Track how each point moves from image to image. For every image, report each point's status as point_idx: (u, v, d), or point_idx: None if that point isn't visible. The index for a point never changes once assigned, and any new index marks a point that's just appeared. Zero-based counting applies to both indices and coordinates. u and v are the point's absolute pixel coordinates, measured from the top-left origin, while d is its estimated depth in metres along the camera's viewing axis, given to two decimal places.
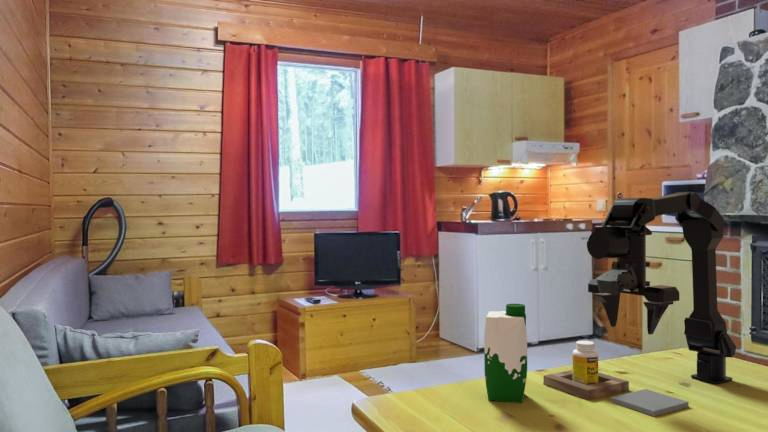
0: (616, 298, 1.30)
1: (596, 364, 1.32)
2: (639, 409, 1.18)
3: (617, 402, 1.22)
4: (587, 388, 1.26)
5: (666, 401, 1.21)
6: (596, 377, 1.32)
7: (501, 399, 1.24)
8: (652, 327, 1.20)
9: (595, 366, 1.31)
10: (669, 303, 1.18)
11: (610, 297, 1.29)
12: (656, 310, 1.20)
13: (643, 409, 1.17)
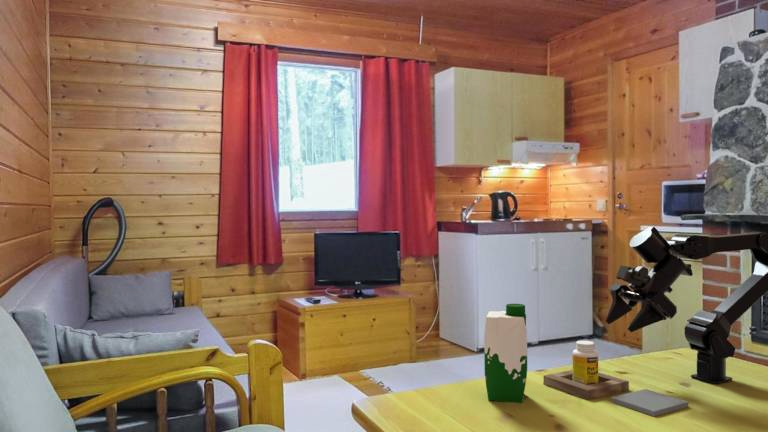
0: (626, 308, 1.41)
1: (596, 364, 1.32)
2: (639, 409, 1.18)
3: (617, 402, 1.22)
4: (587, 388, 1.26)
5: (666, 401, 1.21)
6: (596, 377, 1.32)
7: (501, 399, 1.24)
8: (634, 325, 1.30)
9: (595, 366, 1.31)
10: (661, 314, 1.28)
11: (622, 301, 1.41)
12: (647, 315, 1.30)
13: (643, 409, 1.17)
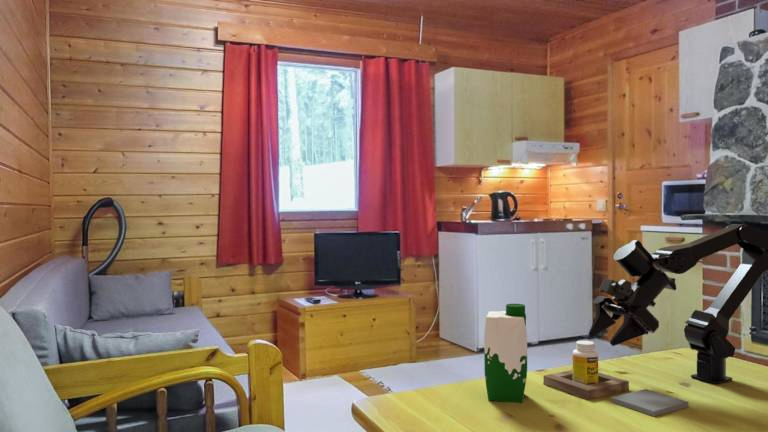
0: (610, 321, 1.40)
1: (596, 364, 1.32)
2: (639, 409, 1.18)
3: (617, 402, 1.22)
4: (587, 388, 1.26)
5: (666, 401, 1.21)
6: (596, 377, 1.32)
7: (501, 399, 1.24)
8: (616, 339, 1.29)
9: (595, 366, 1.31)
10: (643, 329, 1.27)
11: (605, 314, 1.40)
12: (630, 329, 1.29)
13: (643, 409, 1.17)
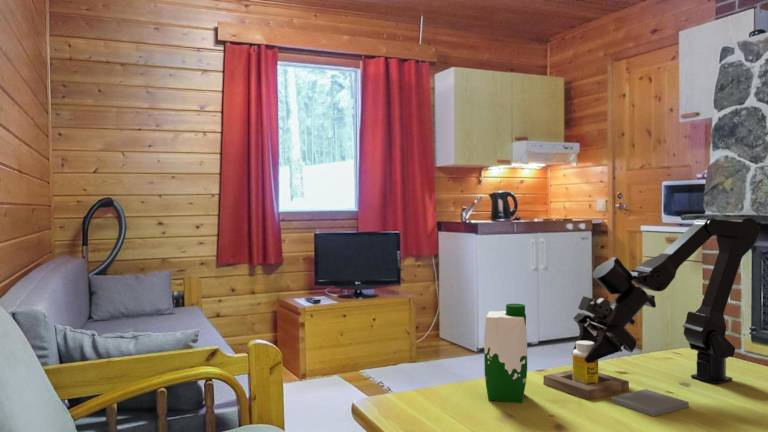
0: (593, 340, 1.38)
1: (596, 364, 1.32)
2: (639, 409, 1.18)
3: (617, 402, 1.22)
4: (587, 388, 1.26)
5: (666, 401, 1.21)
6: (596, 377, 1.32)
7: (501, 399, 1.24)
8: (591, 356, 1.30)
9: (595, 366, 1.31)
10: (617, 346, 1.28)
11: (589, 333, 1.38)
12: (604, 347, 1.30)
13: (643, 409, 1.17)
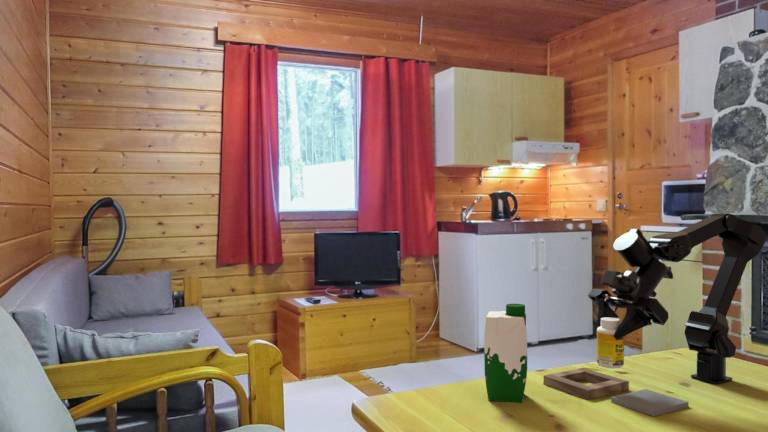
0: (613, 315, 1.32)
1: (623, 341, 1.26)
2: (639, 409, 1.18)
3: (617, 402, 1.22)
4: (587, 388, 1.26)
5: (666, 401, 1.21)
6: (623, 354, 1.26)
7: (501, 399, 1.24)
8: (620, 332, 1.24)
9: (622, 343, 1.26)
10: (648, 320, 1.23)
11: (609, 309, 1.32)
12: (633, 321, 1.25)
13: (643, 409, 1.17)
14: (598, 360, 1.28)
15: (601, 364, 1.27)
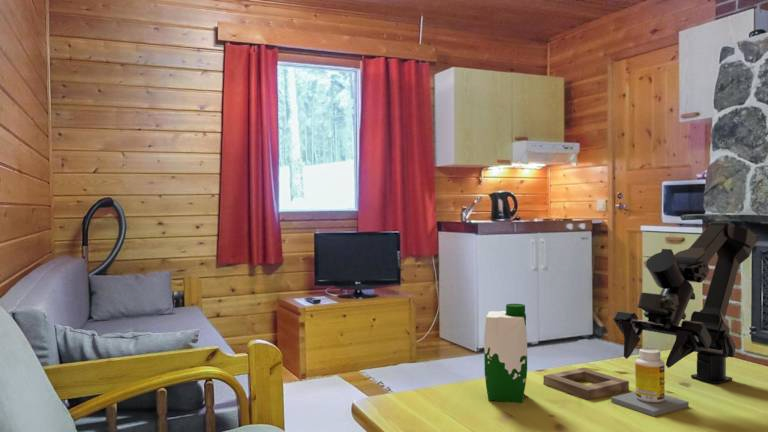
0: (636, 338, 1.28)
1: (664, 373, 1.21)
2: (639, 409, 1.18)
3: (617, 402, 1.22)
4: (587, 388, 1.26)
5: (666, 401, 1.21)
6: (664, 387, 1.21)
7: (501, 399, 1.24)
8: (672, 360, 1.17)
9: (664, 375, 1.20)
10: (698, 345, 1.18)
11: (634, 332, 1.27)
12: (682, 347, 1.19)
13: (643, 409, 1.17)
14: (640, 395, 1.21)
15: (644, 399, 1.20)
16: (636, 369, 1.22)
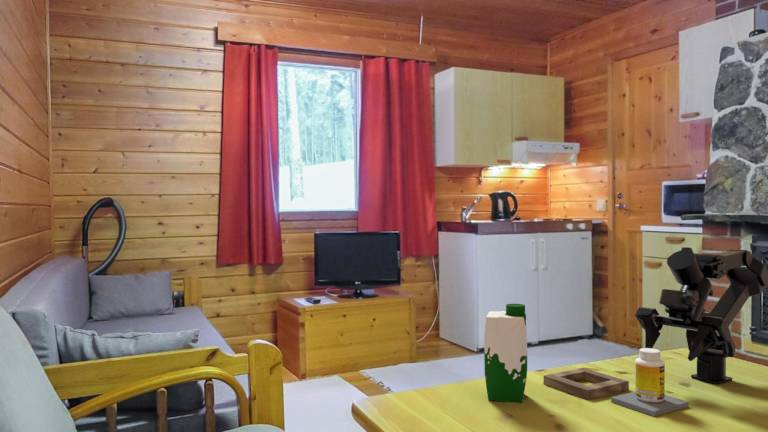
0: (657, 333, 1.33)
1: (664, 373, 1.21)
2: (639, 409, 1.18)
3: (617, 402, 1.22)
4: (587, 388, 1.26)
5: (666, 401, 1.21)
6: (664, 387, 1.21)
7: (501, 399, 1.24)
8: (694, 353, 1.23)
9: (664, 375, 1.20)
10: (718, 339, 1.23)
11: (654, 327, 1.33)
12: (703, 341, 1.24)
13: (643, 409, 1.17)
14: (640, 395, 1.21)
15: (644, 399, 1.20)
16: (636, 369, 1.22)
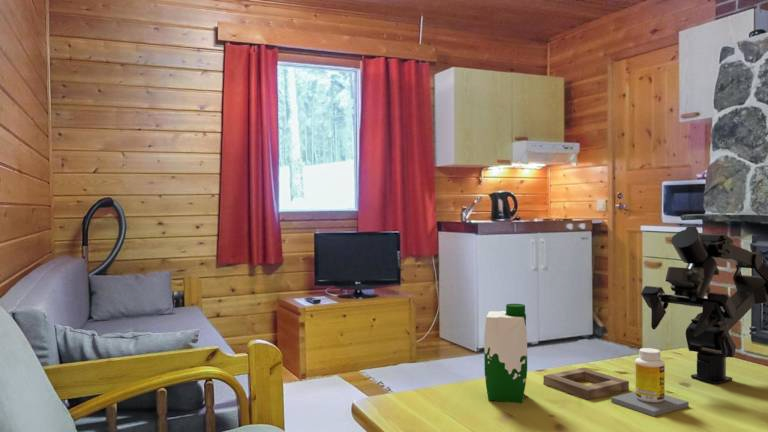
0: (663, 311, 1.36)
1: (664, 373, 1.21)
2: (639, 409, 1.18)
3: (617, 402, 1.22)
4: (587, 388, 1.26)
5: (666, 401, 1.21)
6: (664, 387, 1.21)
7: (501, 399, 1.24)
8: (699, 329, 1.25)
9: (664, 375, 1.20)
10: (724, 316, 1.25)
11: (660, 305, 1.35)
12: (708, 317, 1.26)
13: (643, 409, 1.17)
14: (640, 395, 1.21)
15: (644, 399, 1.20)
16: (636, 369, 1.22)
